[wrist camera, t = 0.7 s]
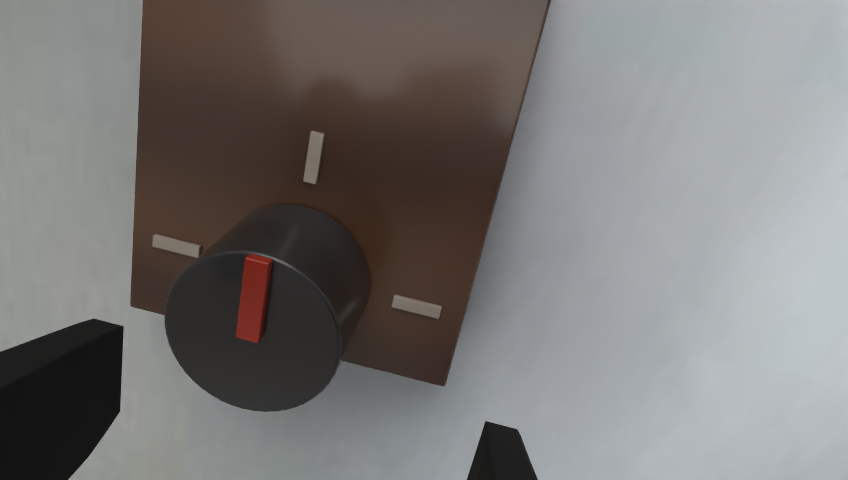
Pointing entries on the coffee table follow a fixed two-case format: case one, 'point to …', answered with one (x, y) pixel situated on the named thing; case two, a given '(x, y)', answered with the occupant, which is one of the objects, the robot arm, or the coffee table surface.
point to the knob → (269, 308)
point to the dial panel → (335, 144)
